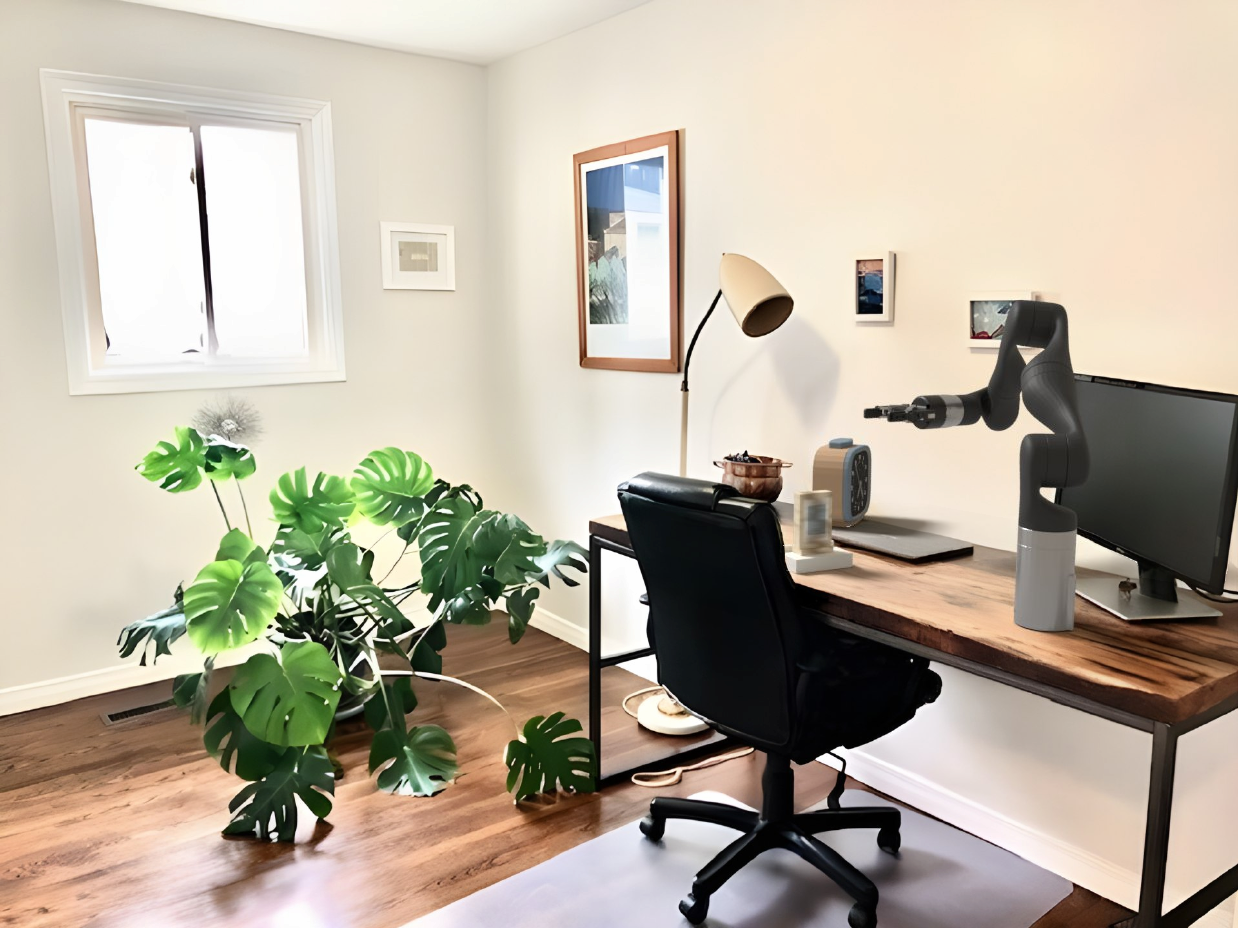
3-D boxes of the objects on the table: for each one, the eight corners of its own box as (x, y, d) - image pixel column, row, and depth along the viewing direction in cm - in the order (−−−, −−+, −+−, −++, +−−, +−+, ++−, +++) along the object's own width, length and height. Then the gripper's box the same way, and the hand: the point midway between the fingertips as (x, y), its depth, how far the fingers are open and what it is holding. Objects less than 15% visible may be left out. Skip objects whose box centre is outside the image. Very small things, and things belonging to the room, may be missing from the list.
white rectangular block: (831, 558, 214) (831, 540, 213) (852, 566, 206) (852, 547, 206) (776, 565, 209) (776, 546, 208) (796, 573, 201) (796, 554, 201)
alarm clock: (848, 531, 240) (850, 446, 237) (811, 528, 245) (813, 444, 241) (870, 516, 258) (872, 436, 254) (836, 513, 262) (837, 435, 259)
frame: (823, 548, 211) (824, 489, 209) (833, 552, 207) (834, 492, 205) (791, 551, 208) (792, 492, 206) (801, 555, 204) (802, 495, 202)
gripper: (916, 392, 220) (857, 395, 214) (959, 397, 207) (897, 400, 201) (915, 425, 221) (856, 429, 215) (958, 431, 208) (896, 436, 202)
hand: (876, 415), depth 208 cm, fingers open, 8 cm apart
